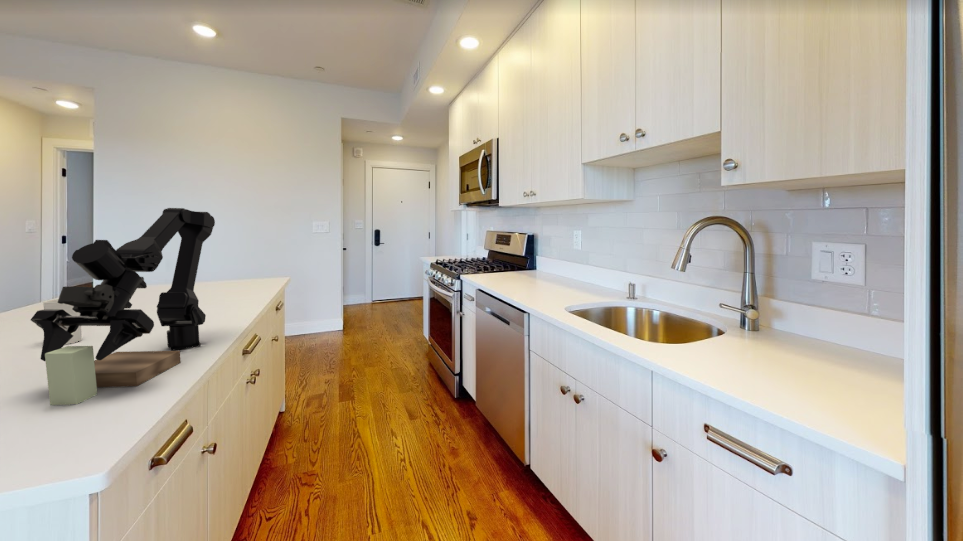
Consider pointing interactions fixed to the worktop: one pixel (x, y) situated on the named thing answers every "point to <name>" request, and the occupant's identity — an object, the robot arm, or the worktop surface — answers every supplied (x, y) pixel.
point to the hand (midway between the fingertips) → (70, 359)
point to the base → (133, 367)
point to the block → (71, 375)
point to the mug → (68, 308)
